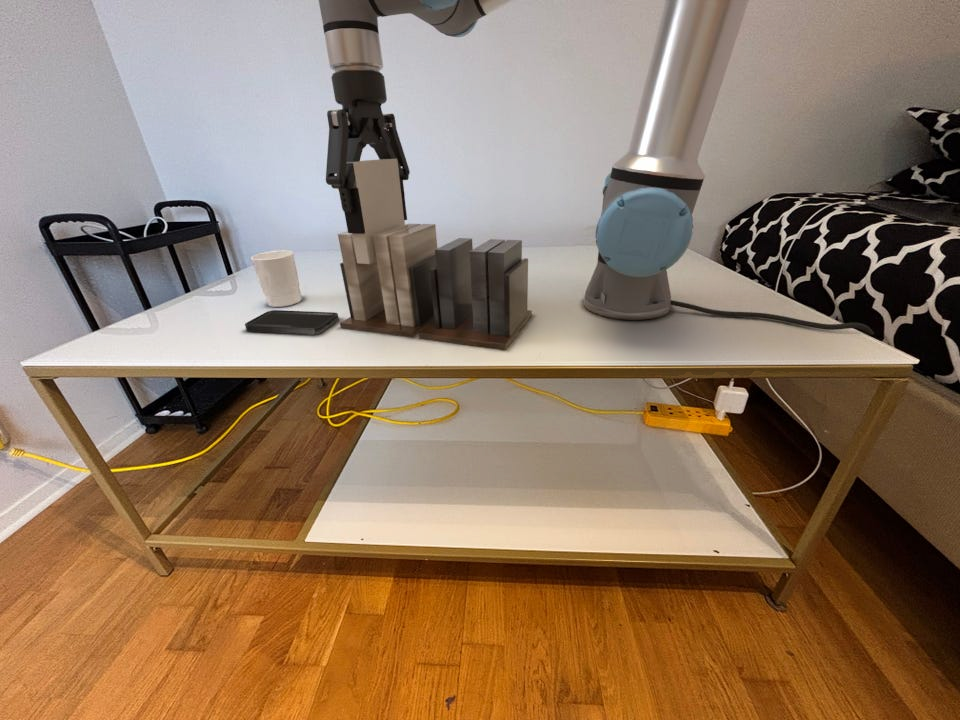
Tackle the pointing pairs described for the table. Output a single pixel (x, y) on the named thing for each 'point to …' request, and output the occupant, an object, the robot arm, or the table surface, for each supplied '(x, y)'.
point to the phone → (292, 322)
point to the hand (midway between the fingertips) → (379, 226)
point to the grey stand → (479, 293)
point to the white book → (377, 203)
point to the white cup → (278, 277)
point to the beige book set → (391, 281)
